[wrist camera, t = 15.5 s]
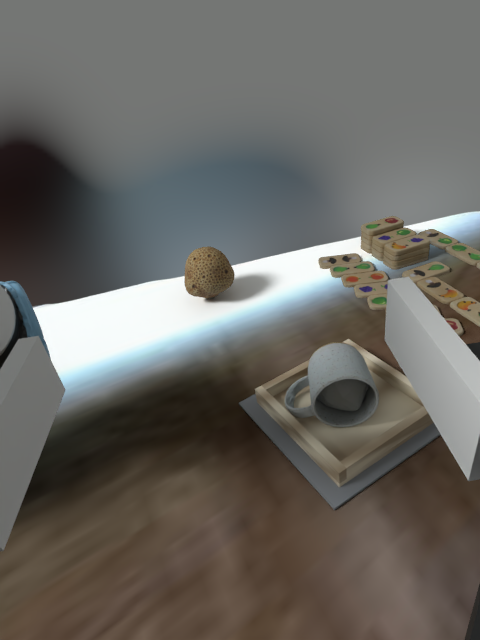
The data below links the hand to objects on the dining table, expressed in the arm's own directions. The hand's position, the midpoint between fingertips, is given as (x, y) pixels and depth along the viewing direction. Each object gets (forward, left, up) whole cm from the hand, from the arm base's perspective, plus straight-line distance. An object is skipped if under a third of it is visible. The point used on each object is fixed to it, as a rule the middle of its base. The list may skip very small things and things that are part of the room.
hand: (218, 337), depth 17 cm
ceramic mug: (-18, +20, -31) cm, 41 cm away
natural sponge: (-54, +23, -32) cm, 67 cm away
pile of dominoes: (-32, +54, -33) cm, 71 cm away
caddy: (-17, +22, -32) cm, 42 cm away
